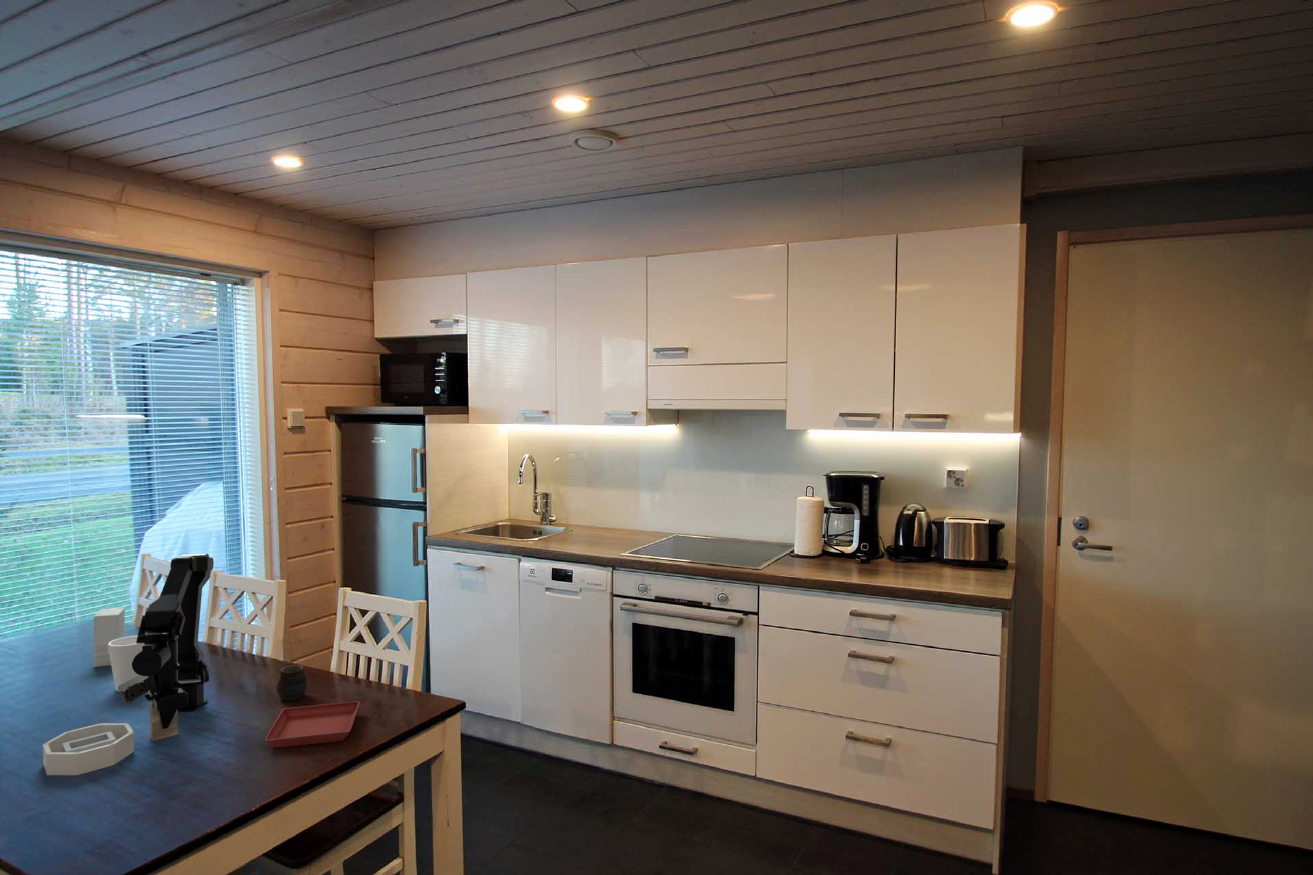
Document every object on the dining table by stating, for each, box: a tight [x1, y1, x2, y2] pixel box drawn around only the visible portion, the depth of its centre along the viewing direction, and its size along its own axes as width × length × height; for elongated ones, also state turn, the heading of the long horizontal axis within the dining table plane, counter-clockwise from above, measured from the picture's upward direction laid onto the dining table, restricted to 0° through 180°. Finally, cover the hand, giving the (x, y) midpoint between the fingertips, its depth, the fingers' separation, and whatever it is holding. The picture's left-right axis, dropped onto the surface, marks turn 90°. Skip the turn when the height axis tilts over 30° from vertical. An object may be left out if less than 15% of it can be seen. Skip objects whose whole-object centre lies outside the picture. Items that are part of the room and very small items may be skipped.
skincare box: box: [93, 606, 126, 668], centre depth 218 cm, size 8×7×16 cm
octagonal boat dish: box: [42, 722, 135, 776], centre depth 158 cm, size 15×15×4 cm
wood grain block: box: [149, 699, 179, 742], centre depth 170 cm, size 2×5×9 cm, turn 136°
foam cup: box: [108, 635, 144, 692], centre depth 199 cm, size 10×9×13 cm
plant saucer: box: [264, 700, 361, 749], centre depth 173 cm, size 18×18×3 cm
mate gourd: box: [276, 664, 308, 702], centre depth 193 cm, size 7×8×10 cm
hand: (164, 726), depth 170 cm, fingers closed on wood grain block, 2 cm apart
